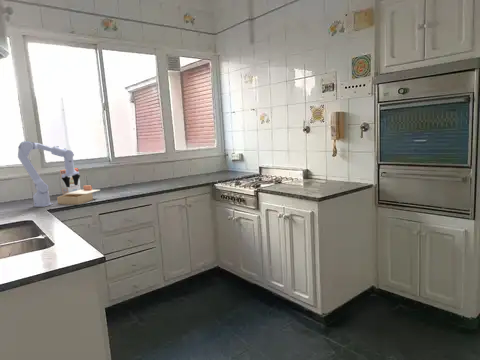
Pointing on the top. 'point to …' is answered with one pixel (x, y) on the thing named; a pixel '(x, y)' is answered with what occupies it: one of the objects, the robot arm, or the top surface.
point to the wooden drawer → (74, 198)
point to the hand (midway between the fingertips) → (72, 186)
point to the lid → (86, 190)
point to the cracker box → (72, 187)
